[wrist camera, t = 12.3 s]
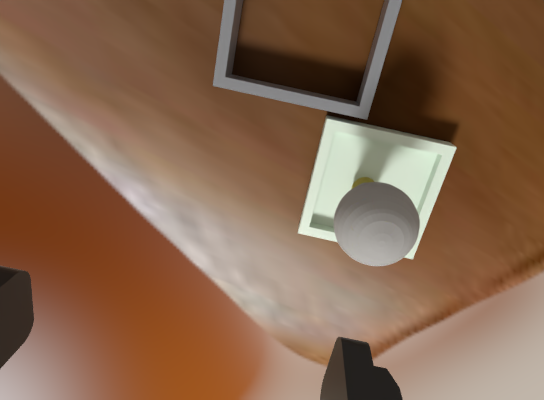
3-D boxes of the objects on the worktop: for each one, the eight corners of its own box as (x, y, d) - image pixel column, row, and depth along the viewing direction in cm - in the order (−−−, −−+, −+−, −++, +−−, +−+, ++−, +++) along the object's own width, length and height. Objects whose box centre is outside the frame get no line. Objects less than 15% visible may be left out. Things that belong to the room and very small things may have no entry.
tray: (298, 225, 35) (297, 232, 34) (326, 115, 31) (326, 118, 30) (408, 250, 35) (412, 259, 34) (449, 142, 31) (456, 147, 30)
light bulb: (401, 155, 31) (437, 204, 22) (392, 217, 34) (421, 286, 24) (332, 152, 32) (339, 199, 23) (327, 213, 34) (332, 279, 25)
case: (220, 82, 31) (212, 85, 29) (245, -90, 27) (238, -103, 25) (363, 113, 31) (366, 119, 29) (411, -56, 27) (421, -65, 24)
